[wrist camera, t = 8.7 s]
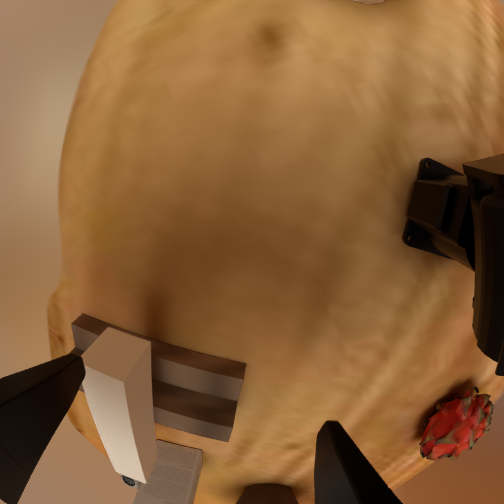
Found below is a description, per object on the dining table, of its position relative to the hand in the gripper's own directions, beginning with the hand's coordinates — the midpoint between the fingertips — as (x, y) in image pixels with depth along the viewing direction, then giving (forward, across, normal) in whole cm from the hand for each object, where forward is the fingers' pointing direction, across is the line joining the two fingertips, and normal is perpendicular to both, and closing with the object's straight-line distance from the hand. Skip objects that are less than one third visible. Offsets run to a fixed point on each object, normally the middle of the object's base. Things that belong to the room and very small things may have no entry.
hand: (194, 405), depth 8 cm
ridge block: (+12, +6, +12) cm, 18 cm away
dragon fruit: (+12, -28, +13) cm, 33 cm away
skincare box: (+12, +3, +27) cm, 29 cm away
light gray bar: (+7, +6, +12) cm, 15 cm away
